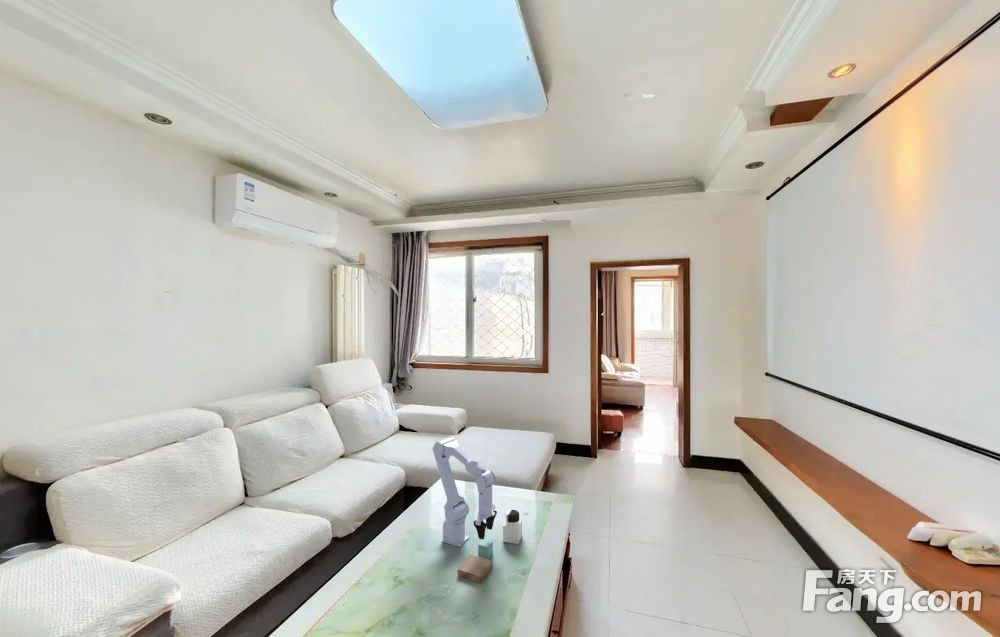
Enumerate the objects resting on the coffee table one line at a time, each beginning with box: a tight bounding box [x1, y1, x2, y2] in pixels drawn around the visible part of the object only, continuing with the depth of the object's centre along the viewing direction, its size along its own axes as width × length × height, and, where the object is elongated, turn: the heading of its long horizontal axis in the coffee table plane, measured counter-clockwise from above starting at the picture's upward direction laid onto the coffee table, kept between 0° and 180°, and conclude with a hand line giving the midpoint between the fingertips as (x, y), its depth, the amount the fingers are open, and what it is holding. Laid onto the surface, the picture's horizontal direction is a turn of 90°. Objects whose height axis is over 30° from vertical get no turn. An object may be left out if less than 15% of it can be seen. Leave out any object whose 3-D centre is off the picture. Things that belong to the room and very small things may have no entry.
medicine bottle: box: [502, 509, 523, 545], centre depth 170 cm, size 7×7×12 cm
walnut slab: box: [457, 554, 493, 584], centre depth 148 cm, size 10×10×3 cm
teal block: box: [477, 538, 494, 560], centre depth 159 cm, size 4×4×5 cm
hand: (485, 533), depth 158 cm, fingers open, 7 cm apart
